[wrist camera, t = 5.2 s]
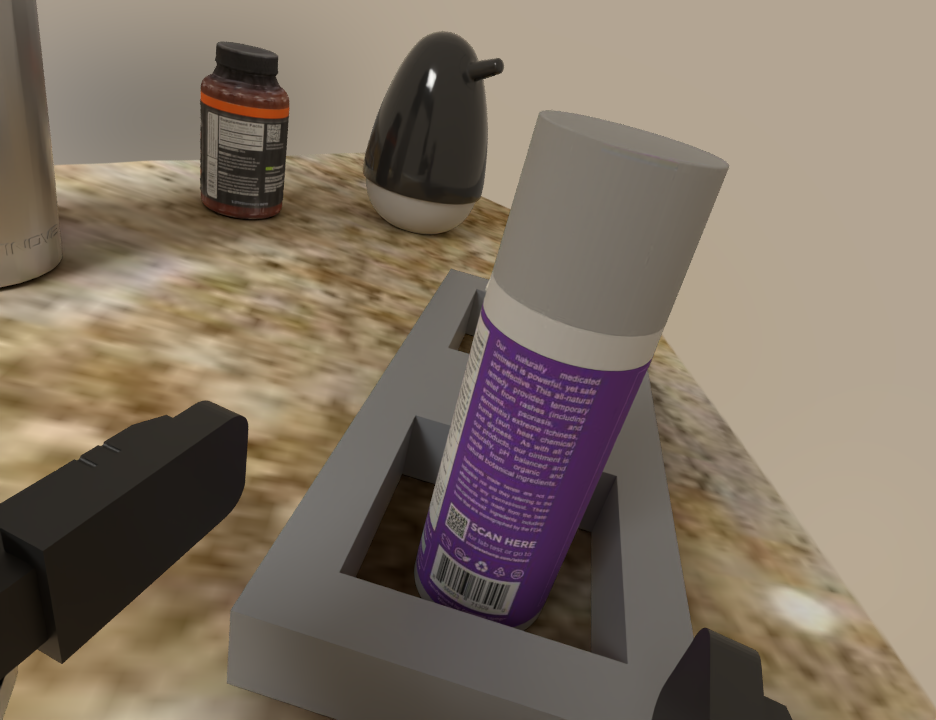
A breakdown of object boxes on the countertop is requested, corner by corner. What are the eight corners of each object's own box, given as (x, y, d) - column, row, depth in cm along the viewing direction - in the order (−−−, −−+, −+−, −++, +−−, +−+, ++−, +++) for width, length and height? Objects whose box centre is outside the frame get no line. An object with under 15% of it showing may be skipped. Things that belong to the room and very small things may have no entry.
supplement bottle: (217, 189, 49) (221, 35, 44) (290, 206, 50) (303, 56, 44) (185, 209, 44) (185, 37, 38) (268, 228, 44) (279, 61, 39)
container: (571, 611, 21) (777, 176, 13) (456, 661, 18) (635, 157, 11) (497, 515, 24) (631, 122, 17) (390, 547, 21) (494, 98, 14)
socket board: (226, 682, 16) (231, 604, 15) (441, 311, 39) (451, 265, 37) (666, 829, 15) (719, 763, 14) (622, 364, 38) (640, 320, 37)
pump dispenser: (419, 254, 47) (462, 38, 40) (331, 207, 52) (355, 7, 44) (495, 239, 55) (543, 55, 47) (412, 200, 59) (444, 27, 52)
